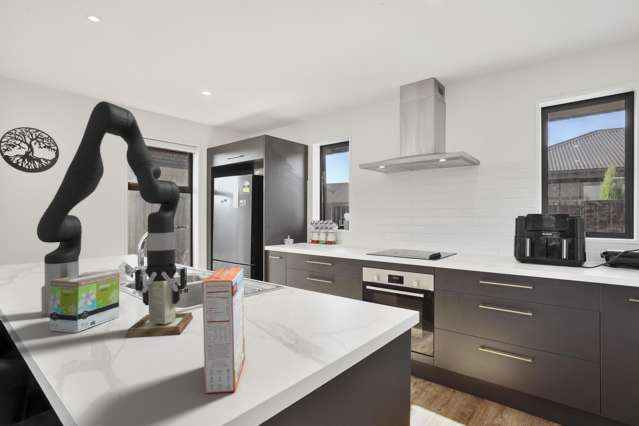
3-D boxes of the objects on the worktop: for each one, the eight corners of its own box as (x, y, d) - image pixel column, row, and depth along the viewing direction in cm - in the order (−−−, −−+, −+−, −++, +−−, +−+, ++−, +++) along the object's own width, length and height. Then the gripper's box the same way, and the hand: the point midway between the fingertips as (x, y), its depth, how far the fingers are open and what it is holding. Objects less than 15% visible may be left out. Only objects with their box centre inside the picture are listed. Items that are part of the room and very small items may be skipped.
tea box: (78, 333, 93) (77, 280, 93) (48, 331, 95) (48, 279, 95) (120, 317, 107) (120, 271, 107) (94, 315, 109) (94, 270, 109)
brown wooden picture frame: (126, 337, 89) (126, 329, 89) (146, 320, 103) (146, 314, 103) (180, 334, 91) (180, 326, 91) (193, 318, 105) (192, 312, 105)
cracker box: (218, 361, 74) (217, 267, 74) (246, 359, 75) (245, 267, 75) (201, 395, 60) (200, 280, 60) (235, 393, 61) (234, 279, 61)
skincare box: (176, 319, 98) (175, 278, 98) (164, 324, 94) (164, 281, 94) (159, 318, 100) (159, 277, 100) (147, 322, 96) (147, 280, 96)
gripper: (190, 246, 102) (190, 299, 102) (140, 247, 100) (140, 301, 100) (183, 248, 94) (183, 306, 94) (129, 250, 93) (130, 308, 93)
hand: (161, 304), depth 97 cm, fingers closed on skincare box, 7 cm apart
